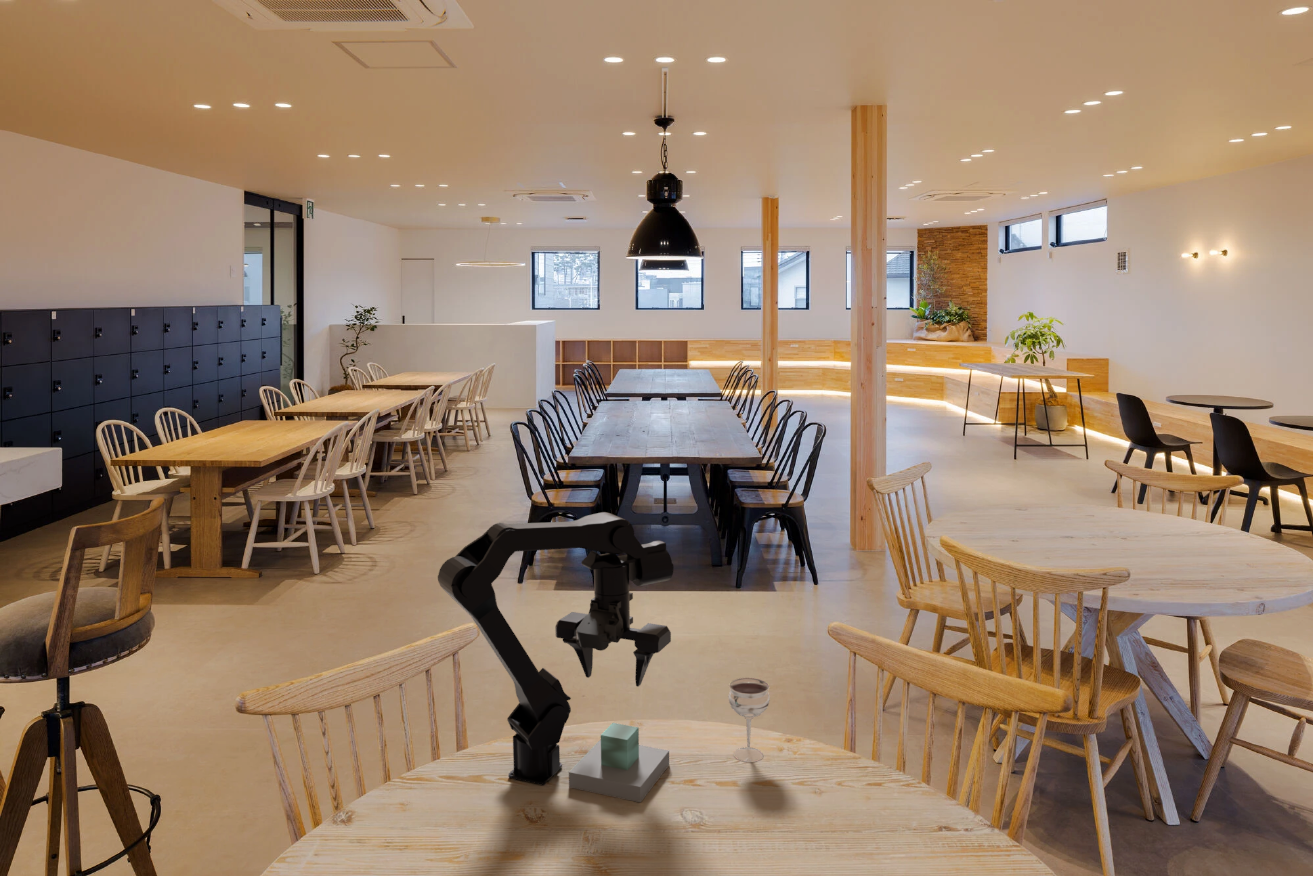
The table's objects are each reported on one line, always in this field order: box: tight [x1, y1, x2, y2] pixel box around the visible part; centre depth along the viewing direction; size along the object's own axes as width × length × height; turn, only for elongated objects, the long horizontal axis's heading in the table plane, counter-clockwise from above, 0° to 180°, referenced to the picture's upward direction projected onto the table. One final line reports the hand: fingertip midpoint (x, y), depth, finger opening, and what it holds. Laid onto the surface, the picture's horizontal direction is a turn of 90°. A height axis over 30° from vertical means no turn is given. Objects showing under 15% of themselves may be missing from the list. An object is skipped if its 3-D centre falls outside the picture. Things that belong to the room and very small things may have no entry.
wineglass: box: [727, 677, 771, 763], centre depth 149 cm, size 7×7×12 cm
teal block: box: [600, 722, 640, 770], centre depth 142 cm, size 4×4×5 cm
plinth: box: [568, 738, 670, 803], centre depth 143 cm, size 12×12×2 cm
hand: (613, 681), depth 150 cm, fingers open, 9 cm apart
